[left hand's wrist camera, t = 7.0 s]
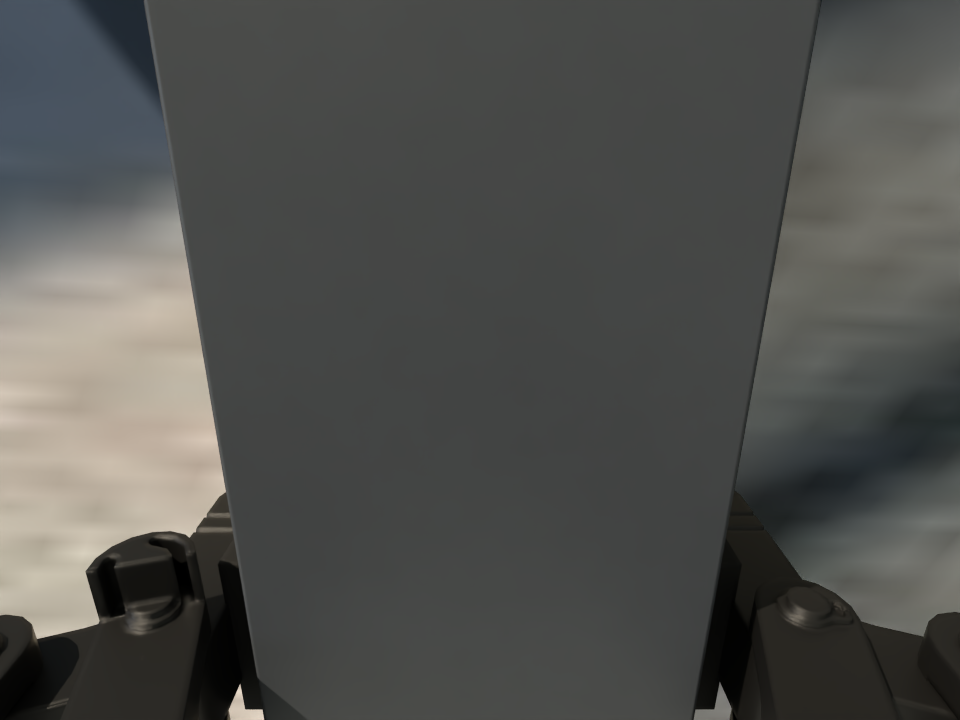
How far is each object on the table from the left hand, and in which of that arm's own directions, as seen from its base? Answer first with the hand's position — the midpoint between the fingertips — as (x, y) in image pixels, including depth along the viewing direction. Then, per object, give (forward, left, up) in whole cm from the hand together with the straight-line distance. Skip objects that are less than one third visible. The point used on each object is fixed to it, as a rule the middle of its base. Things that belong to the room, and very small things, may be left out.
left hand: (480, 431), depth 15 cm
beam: (-2, +19, -1) cm, 19 cm away
